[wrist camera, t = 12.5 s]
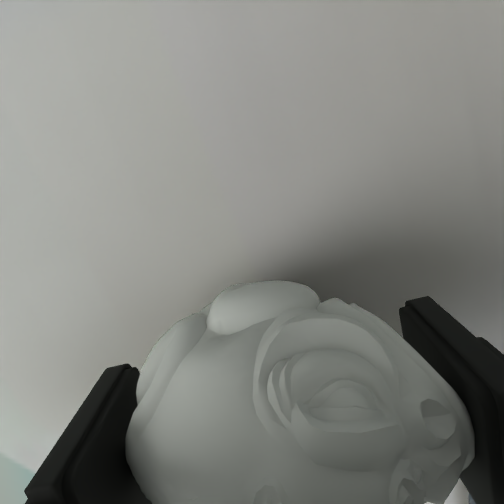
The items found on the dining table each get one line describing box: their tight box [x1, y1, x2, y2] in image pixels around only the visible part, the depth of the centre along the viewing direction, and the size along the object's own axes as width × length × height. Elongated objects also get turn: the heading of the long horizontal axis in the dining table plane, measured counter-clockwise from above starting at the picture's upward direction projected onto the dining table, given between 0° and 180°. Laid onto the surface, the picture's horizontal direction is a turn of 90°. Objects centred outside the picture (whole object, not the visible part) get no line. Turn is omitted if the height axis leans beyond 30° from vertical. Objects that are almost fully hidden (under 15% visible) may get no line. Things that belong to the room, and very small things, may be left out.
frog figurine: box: [125, 280, 475, 504], centre depth 9 cm, size 6×7×7 cm
